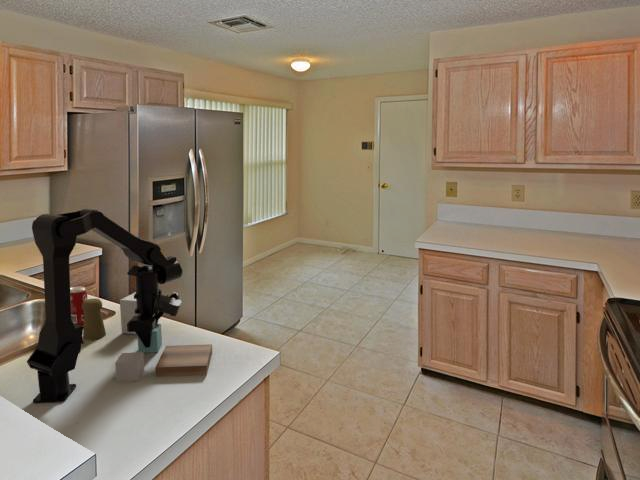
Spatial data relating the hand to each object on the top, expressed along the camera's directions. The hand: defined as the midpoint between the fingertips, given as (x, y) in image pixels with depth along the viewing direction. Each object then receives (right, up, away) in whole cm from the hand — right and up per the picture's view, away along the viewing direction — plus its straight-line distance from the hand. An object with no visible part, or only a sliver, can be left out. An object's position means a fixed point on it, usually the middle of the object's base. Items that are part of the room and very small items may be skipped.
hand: (150, 343), depth 120 cm
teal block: (0, -2, 0) cm, 2 cm away
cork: (-19, 0, +8) cm, 21 cm away
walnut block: (+12, -4, -8) cm, 15 cm away
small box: (-9, +1, +13) cm, 16 cm away
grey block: (+1, -5, -14) cm, 15 cm away
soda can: (-27, +2, +15) cm, 31 cm away
